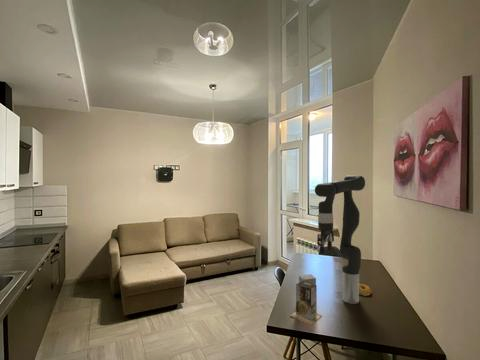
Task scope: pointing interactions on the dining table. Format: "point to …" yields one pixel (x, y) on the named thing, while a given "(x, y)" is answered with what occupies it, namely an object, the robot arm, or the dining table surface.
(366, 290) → the bagel
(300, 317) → the cork rest mat
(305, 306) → the coffee box
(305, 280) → the skincare box
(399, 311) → the dining table surface
